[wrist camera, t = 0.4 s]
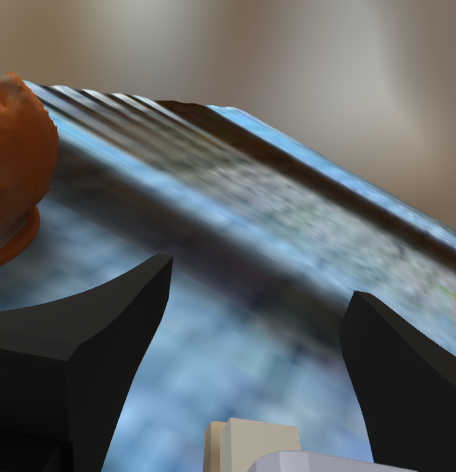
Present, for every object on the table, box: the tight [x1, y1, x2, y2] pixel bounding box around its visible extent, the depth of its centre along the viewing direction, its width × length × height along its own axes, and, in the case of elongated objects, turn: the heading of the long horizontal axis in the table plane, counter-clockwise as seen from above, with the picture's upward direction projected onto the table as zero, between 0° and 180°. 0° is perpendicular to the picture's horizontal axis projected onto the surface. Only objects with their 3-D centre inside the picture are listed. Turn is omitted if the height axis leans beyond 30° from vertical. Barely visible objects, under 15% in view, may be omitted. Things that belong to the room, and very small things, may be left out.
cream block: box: [220, 418, 301, 472], centre depth 23 cm, size 6×6×2 cm
